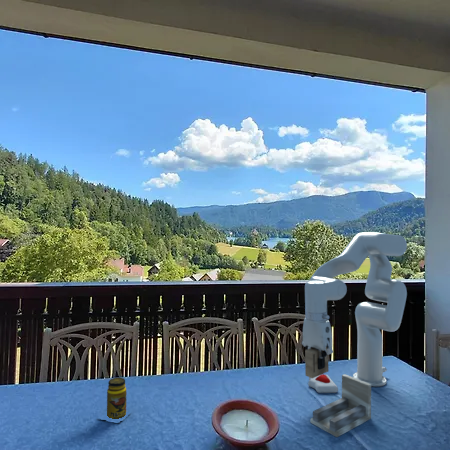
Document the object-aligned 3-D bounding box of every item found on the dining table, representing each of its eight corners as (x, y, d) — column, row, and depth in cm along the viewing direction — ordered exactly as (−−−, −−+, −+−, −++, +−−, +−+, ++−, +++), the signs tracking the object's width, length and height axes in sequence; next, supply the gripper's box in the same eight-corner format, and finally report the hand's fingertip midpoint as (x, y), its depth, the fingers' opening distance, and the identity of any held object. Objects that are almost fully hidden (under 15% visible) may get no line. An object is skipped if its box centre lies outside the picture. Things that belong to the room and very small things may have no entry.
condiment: (119, 424, 114) (119, 386, 114) (96, 419, 117) (96, 382, 117) (131, 413, 121) (132, 377, 121) (110, 409, 124) (110, 373, 124)
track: (344, 406, 127) (344, 374, 127) (370, 418, 119) (371, 384, 119) (310, 422, 117) (310, 387, 117) (336, 437, 109) (337, 399, 109)
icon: (304, 370, 149) (328, 369, 150) (303, 380, 149) (328, 380, 150) (313, 382, 137) (339, 382, 137) (312, 394, 137) (339, 394, 137)
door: (321, 368, 135) (321, 344, 135) (328, 371, 132) (328, 346, 132) (305, 375, 129) (304, 350, 129) (312, 378, 127) (311, 352, 127)
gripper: (342, 318, 126) (343, 371, 126) (305, 309, 139) (306, 357, 140) (328, 322, 122) (329, 377, 122) (291, 313, 135) (292, 362, 135)
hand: (317, 366), depth 131 cm, fingers closed on door, 3 cm apart
